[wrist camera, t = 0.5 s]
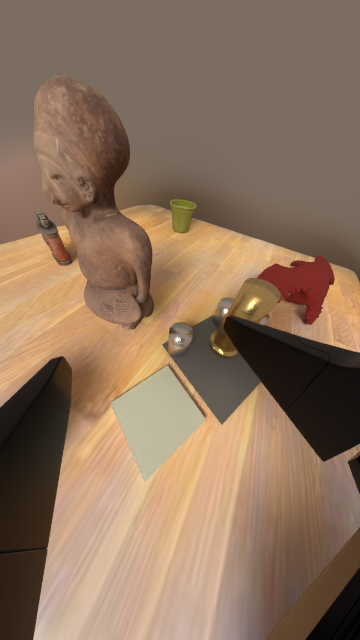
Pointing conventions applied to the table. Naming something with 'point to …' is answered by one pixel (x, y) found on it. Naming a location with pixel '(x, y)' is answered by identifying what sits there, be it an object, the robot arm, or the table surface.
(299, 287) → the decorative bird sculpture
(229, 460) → the table surface
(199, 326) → the mat
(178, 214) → the plant pot
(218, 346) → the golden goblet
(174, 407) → the tile
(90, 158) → the clay figurine
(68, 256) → the lighter
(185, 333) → the spacers
